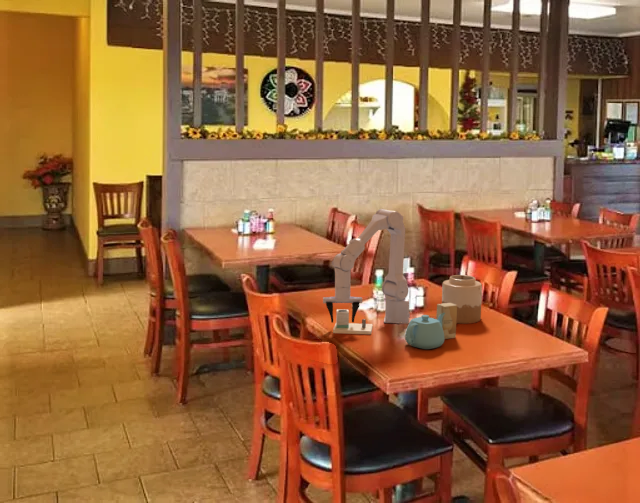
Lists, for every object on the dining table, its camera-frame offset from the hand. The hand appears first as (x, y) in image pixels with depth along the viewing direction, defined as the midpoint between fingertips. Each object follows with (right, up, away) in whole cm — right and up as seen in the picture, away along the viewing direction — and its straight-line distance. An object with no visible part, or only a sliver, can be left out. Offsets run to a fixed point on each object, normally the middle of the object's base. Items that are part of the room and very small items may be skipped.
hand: (342, 321), depth 278 cm
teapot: (+29, -7, -18) cm, 35 cm away
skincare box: (+37, -5, -9) cm, 38 cm away
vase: (+47, -1, +17) cm, 50 cm away
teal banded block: (0, -2, 0) cm, 2 cm away
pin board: (+4, -3, 0) cm, 5 cm away
